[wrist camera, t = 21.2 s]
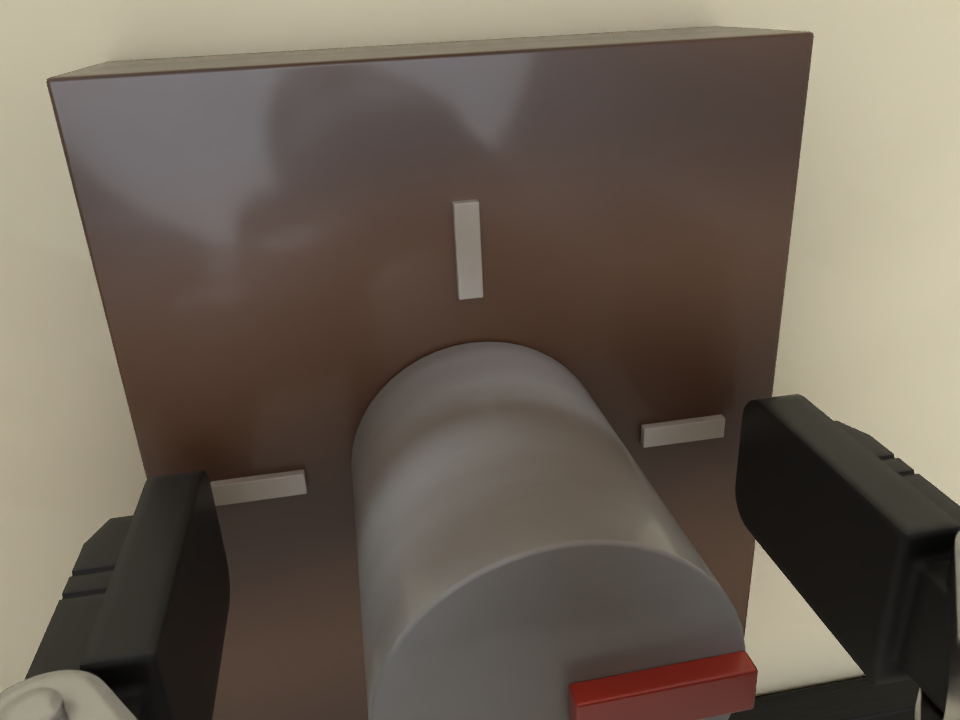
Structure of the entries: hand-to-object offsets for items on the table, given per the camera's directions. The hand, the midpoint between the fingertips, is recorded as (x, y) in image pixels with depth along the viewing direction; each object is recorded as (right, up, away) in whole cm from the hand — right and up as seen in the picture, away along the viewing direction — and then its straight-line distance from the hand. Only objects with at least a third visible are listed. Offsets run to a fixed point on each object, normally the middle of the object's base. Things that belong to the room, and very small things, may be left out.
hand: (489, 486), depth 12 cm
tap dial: (0, 0, +1) cm, 1 cm away
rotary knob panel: (-1, +2, +4) cm, 4 cm away
